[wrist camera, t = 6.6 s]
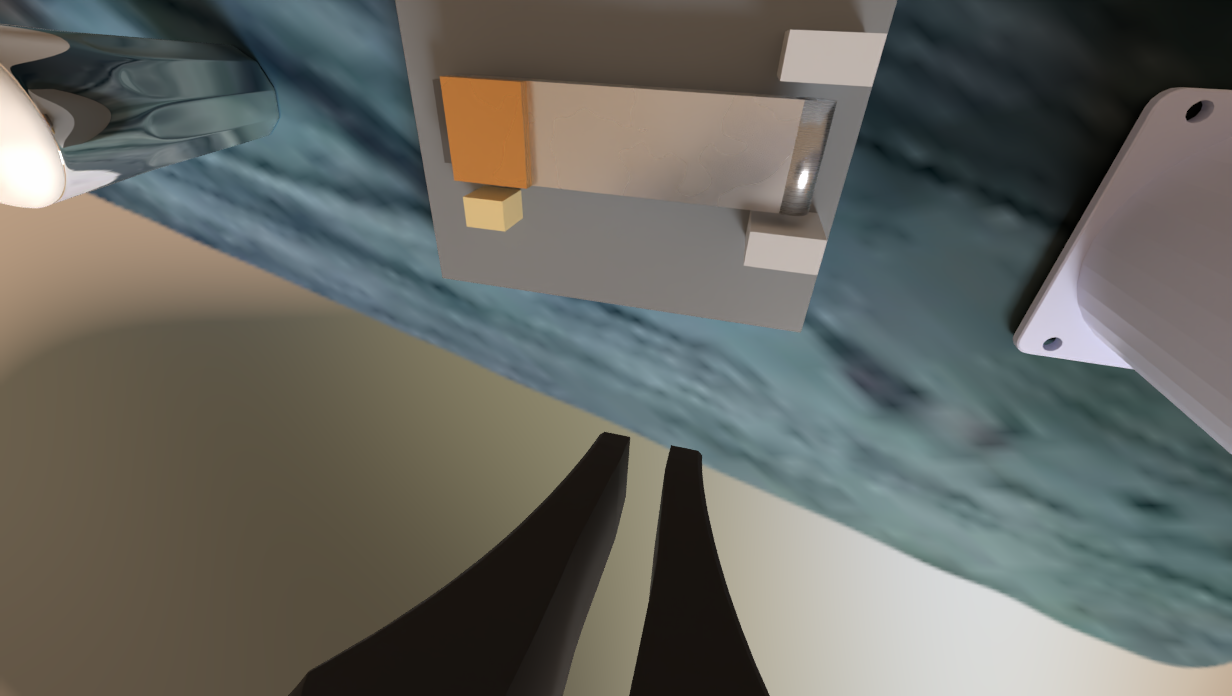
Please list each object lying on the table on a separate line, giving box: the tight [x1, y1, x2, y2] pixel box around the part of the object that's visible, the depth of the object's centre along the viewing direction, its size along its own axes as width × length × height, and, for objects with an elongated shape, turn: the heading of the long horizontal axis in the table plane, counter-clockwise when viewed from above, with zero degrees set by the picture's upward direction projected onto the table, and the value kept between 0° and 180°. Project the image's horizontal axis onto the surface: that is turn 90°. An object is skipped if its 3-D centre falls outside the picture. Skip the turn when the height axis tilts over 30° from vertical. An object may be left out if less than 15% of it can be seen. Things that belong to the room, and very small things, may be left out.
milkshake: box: [0, 24, 279, 208], centre depth 15 cm, size 4×5×10 cm
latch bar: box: [440, 74, 837, 216], centre depth 14 cm, size 10×3×1 cm, turn 90°
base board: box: [395, 0, 897, 332], centre depth 15 cm, size 14×12×4 cm
